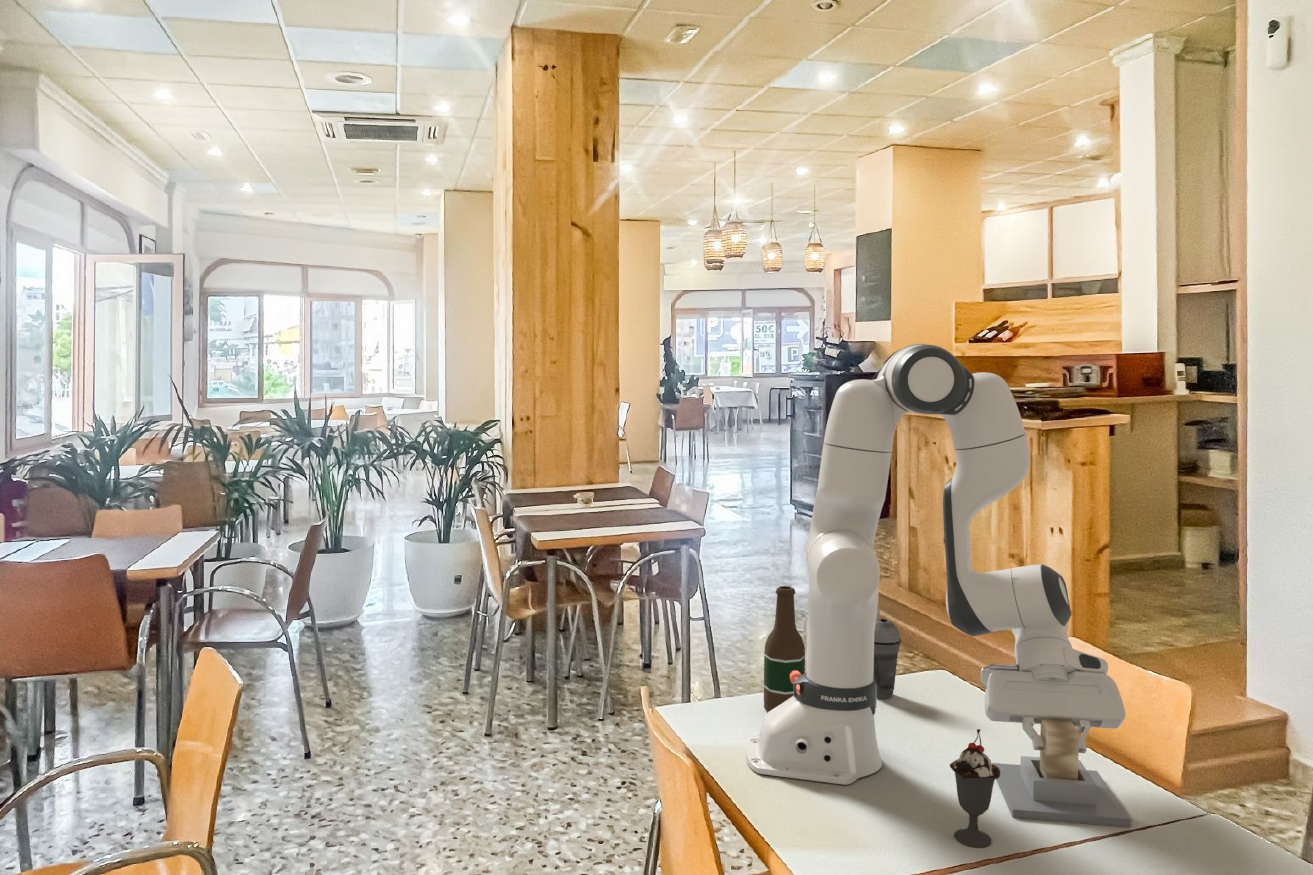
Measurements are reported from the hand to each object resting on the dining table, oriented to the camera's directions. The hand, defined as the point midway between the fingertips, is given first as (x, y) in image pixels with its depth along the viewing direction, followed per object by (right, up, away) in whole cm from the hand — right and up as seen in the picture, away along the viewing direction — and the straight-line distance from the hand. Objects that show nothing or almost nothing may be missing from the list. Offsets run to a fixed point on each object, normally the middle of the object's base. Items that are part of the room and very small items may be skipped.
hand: (1060, 750), depth 137 cm
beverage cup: (-16, -5, +45) cm, 48 cm away
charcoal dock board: (0, -8, +1) cm, 8 cm away
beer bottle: (-37, -5, +37) cm, 52 cm away
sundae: (-17, -9, -11) cm, 22 cm away
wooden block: (0, -4, +1) cm, 4 cm away
